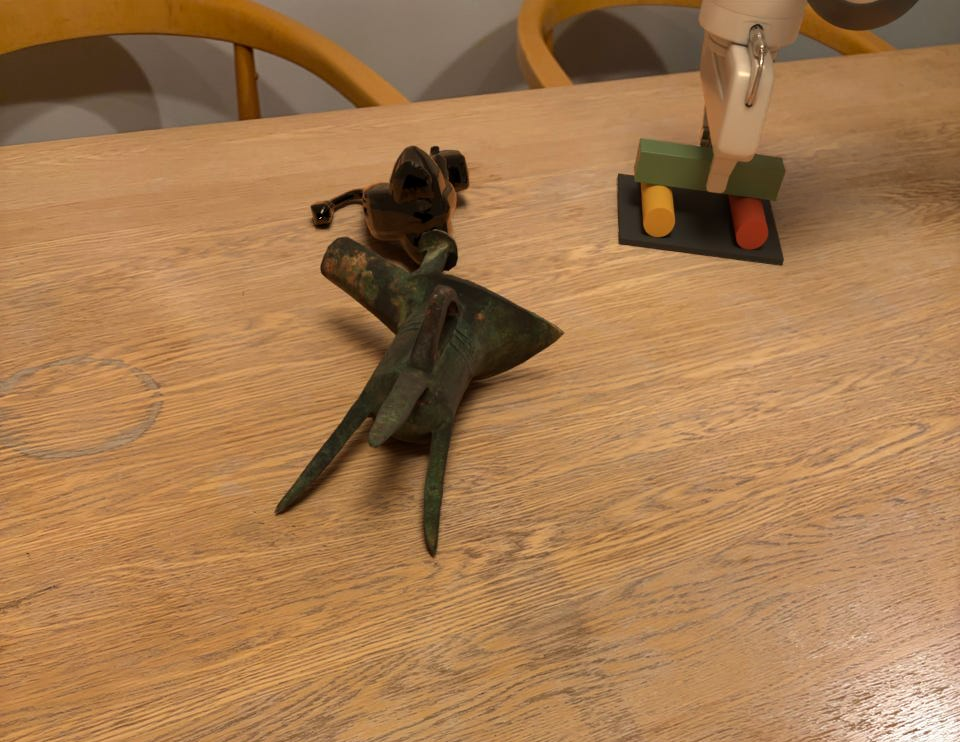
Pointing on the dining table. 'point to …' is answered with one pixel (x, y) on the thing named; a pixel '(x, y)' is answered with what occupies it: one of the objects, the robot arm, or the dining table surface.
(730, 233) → the rod stand
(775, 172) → the bar
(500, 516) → the dining table surface
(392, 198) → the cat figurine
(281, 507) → the vessel
